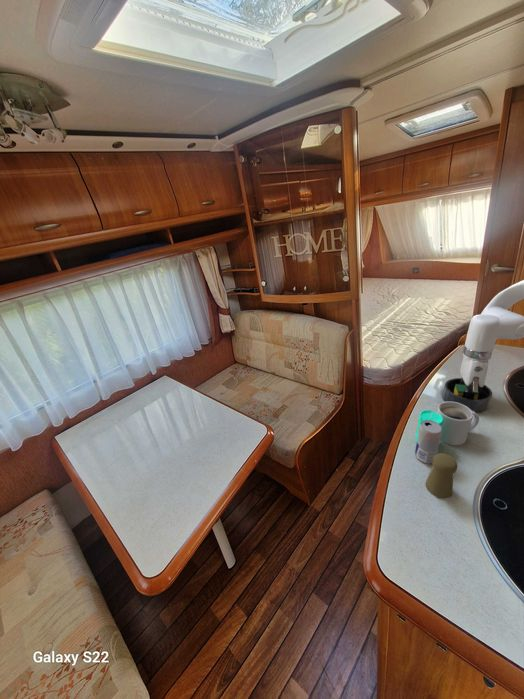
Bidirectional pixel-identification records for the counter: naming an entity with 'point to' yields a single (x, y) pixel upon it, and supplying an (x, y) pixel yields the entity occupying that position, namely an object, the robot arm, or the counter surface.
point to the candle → (428, 416)
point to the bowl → (473, 405)
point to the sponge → (461, 388)
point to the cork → (441, 476)
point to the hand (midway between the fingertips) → (465, 395)
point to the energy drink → (428, 441)
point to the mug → (456, 422)
